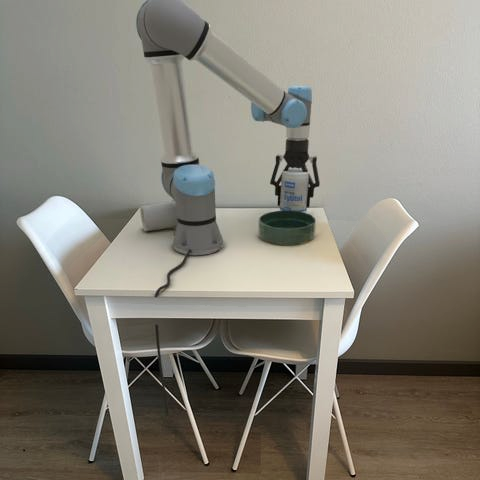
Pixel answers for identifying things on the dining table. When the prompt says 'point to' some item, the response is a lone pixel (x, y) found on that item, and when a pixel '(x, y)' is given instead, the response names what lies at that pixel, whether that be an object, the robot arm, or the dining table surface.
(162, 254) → the dining table surface
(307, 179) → the supplement tub
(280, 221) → the dark green bowl
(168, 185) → the robot arm
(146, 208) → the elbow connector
